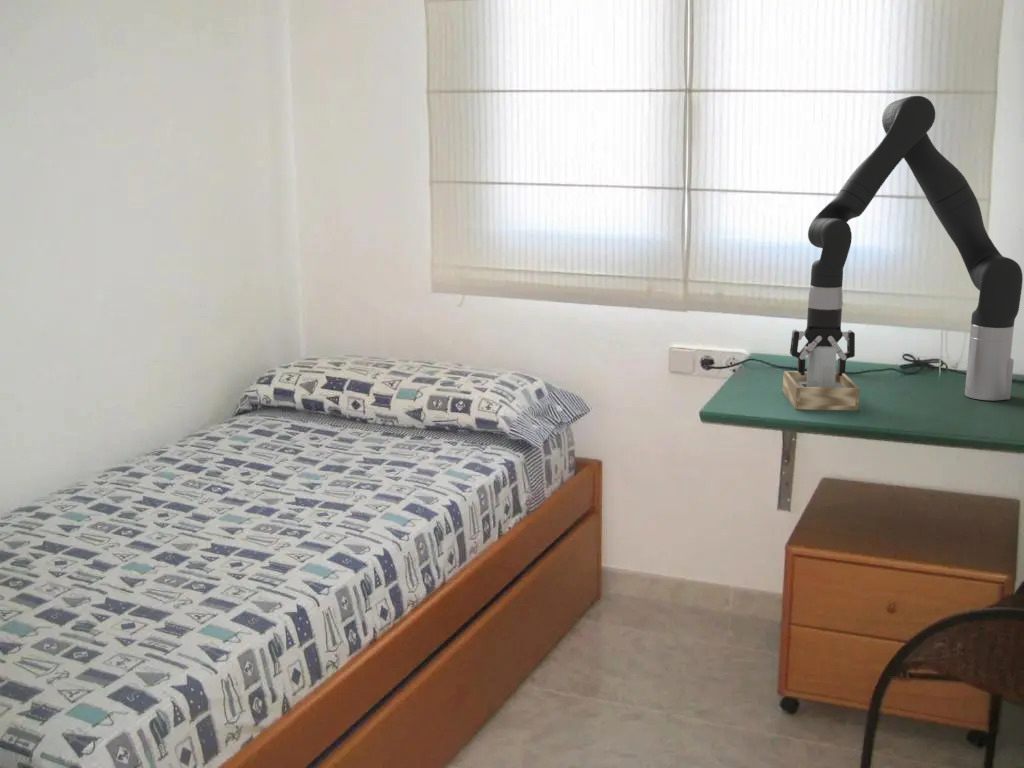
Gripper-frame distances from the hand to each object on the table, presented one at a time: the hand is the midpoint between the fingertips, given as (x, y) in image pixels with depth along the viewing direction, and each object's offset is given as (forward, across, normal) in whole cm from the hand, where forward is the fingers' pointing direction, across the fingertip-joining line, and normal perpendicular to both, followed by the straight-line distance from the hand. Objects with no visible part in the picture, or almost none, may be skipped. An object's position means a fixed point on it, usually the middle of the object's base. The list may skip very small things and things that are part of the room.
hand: (820, 375), depth 259 cm
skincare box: (+5, 0, 0) cm, 5 cm away
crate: (+6, 0, 0) cm, 6 cm away
